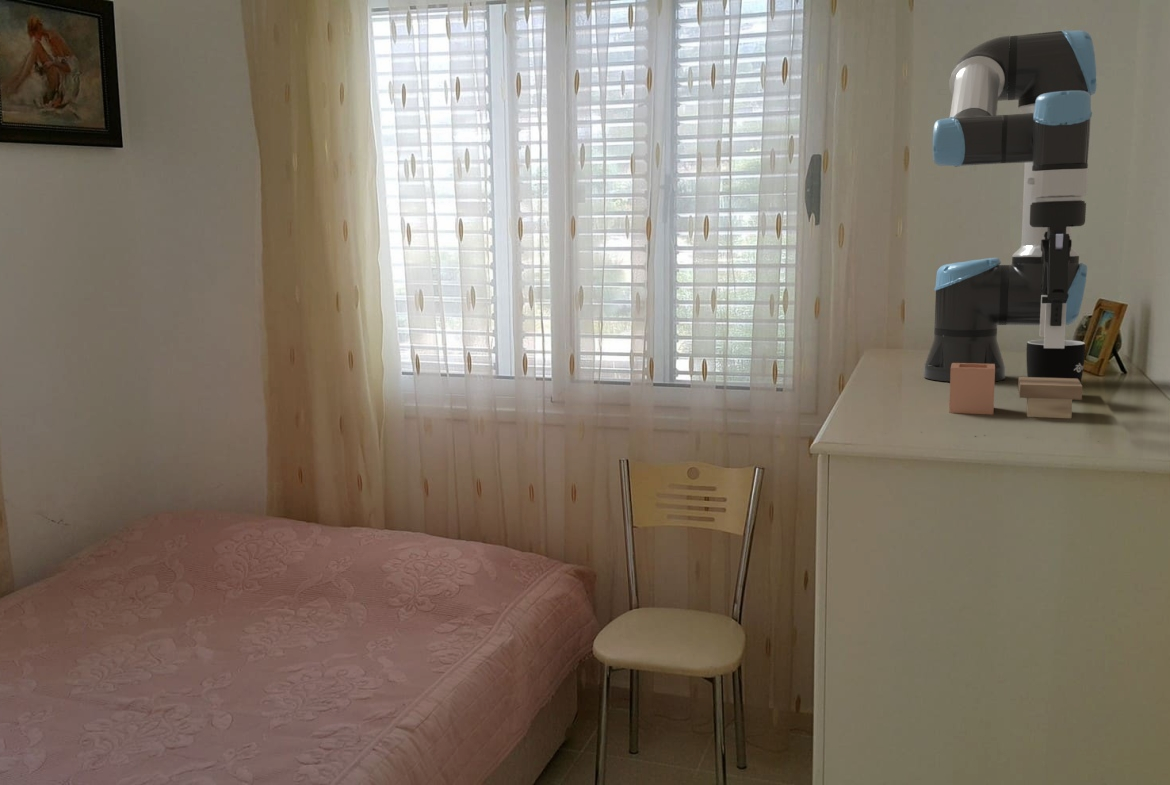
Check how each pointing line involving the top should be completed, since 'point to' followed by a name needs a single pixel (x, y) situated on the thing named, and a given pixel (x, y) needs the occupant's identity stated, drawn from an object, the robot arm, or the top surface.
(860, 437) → the top surface
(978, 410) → the tan hollow square block
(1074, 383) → the lid
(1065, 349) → the mug
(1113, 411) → the top surface
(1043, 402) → the block
